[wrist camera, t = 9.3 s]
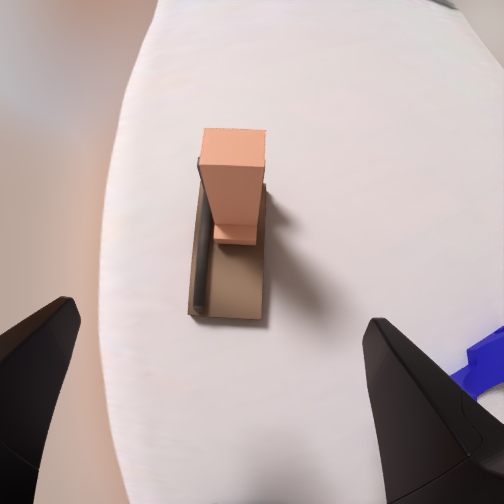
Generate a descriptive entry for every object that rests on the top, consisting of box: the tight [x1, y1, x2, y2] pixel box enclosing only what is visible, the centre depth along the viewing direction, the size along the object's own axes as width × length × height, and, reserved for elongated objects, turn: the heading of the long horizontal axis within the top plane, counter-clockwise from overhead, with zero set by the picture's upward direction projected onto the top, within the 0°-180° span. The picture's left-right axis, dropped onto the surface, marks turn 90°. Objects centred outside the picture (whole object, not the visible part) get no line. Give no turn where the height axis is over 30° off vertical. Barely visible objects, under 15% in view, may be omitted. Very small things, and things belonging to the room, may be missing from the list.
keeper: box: [199, 128, 266, 245], centre depth 17 cm, size 4×3×9 cm
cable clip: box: [450, 326, 504, 401], centre depth 17 cm, size 12×4×6 cm, turn 104°
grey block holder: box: [188, 157, 266, 319], centre depth 20 cm, size 10×5×4 cm, turn 177°
